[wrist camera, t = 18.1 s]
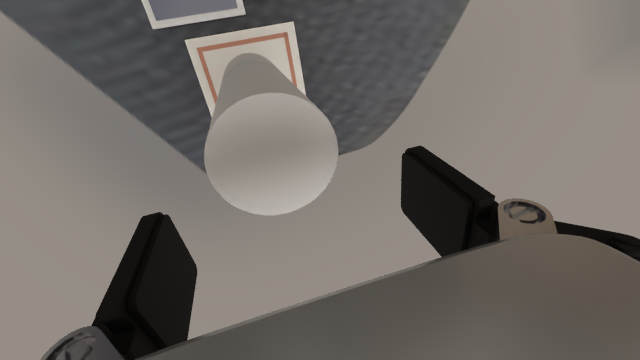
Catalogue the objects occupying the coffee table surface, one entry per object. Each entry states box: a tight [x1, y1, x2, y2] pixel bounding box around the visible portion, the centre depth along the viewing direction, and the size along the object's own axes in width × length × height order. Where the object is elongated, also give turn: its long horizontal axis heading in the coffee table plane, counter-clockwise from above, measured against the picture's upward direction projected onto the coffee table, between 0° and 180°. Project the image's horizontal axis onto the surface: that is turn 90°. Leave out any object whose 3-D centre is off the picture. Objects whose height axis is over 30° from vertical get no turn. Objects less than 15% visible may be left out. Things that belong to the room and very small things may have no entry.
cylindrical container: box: [204, 53, 338, 215], centre depth 26 cm, size 7×7×25 cm
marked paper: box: [185, 21, 306, 117], centre depth 37 cm, size 13×13×1 cm
